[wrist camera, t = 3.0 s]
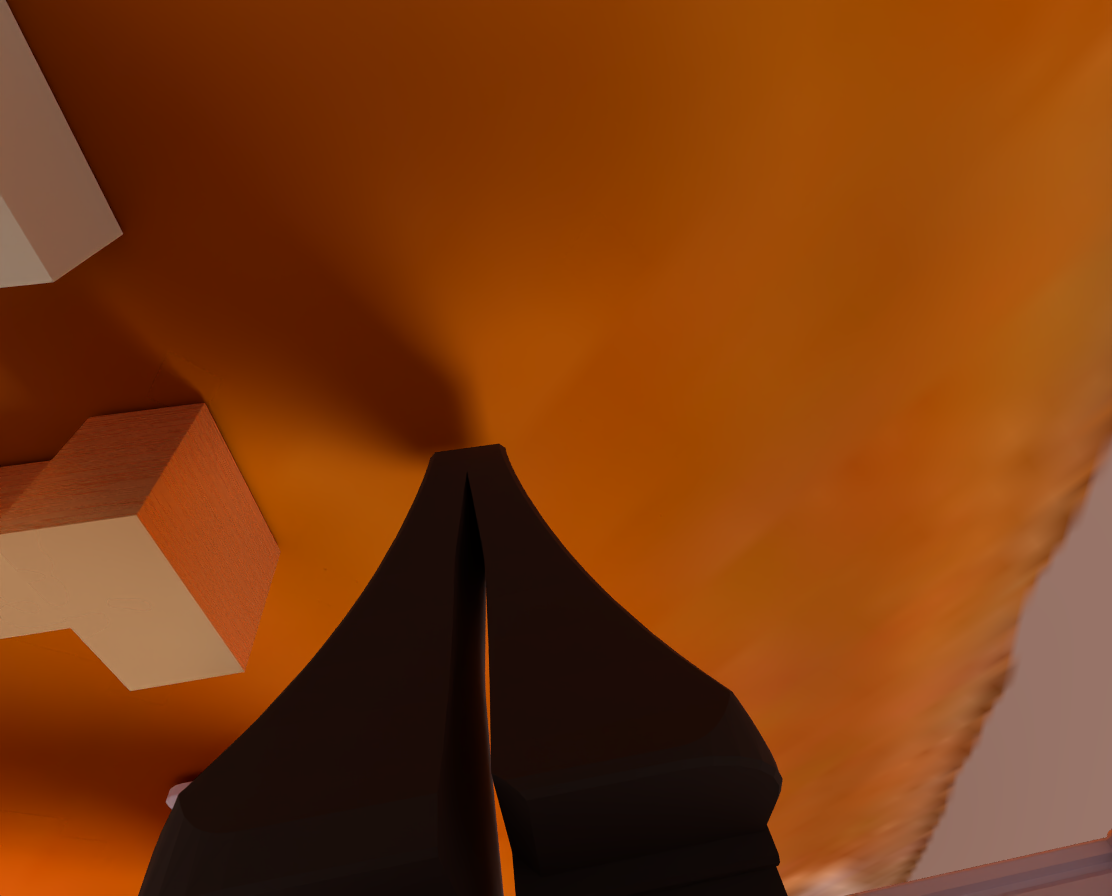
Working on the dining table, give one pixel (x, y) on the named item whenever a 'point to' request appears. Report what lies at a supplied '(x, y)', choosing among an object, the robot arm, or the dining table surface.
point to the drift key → (138, 547)
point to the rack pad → (42, 176)
